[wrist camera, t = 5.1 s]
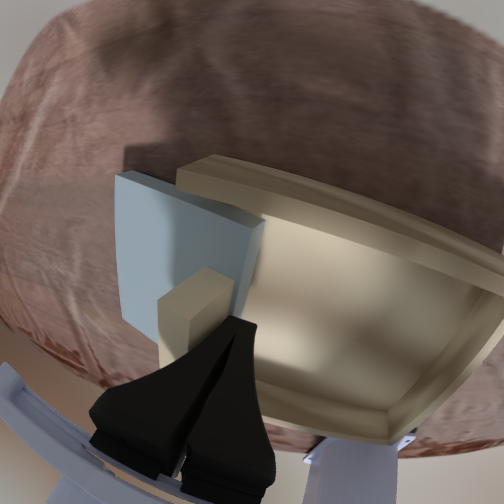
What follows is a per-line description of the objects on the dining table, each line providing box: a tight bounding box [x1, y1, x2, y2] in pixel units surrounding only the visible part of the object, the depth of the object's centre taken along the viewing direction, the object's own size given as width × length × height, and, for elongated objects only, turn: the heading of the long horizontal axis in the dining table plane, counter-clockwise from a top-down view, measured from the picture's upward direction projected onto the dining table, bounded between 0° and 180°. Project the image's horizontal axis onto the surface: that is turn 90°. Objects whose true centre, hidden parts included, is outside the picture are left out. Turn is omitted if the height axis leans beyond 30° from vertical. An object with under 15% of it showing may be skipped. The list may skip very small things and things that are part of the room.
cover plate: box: [115, 170, 266, 369], centre depth 13 cm, size 10×8×4 cm
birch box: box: [175, 154, 504, 446], centre depth 13 cm, size 14×16×4 cm
